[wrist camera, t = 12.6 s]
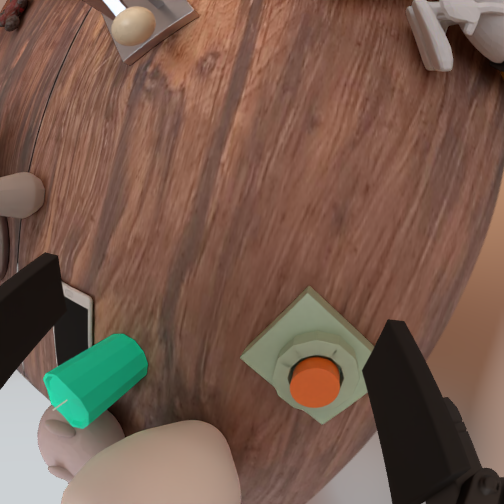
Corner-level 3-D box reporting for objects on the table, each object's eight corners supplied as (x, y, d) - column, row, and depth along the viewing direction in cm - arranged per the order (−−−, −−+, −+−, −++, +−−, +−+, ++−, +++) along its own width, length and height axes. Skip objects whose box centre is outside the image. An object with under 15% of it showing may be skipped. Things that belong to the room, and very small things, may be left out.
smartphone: (90, 298, 28) (93, 398, 31) (94, 296, 29) (96, 395, 32) (50, 276, 30) (57, 372, 33) (54, 275, 31) (59, 370, 34)
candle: (114, 322, 29) (32, 366, 18) (155, 357, 28) (81, 419, 17) (101, 356, 31) (31, 401, 19) (138, 389, 30) (74, 447, 18)
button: (282, 376, 21) (279, 388, 20) (316, 347, 20) (315, 358, 19) (315, 402, 21) (313, 415, 19) (349, 376, 20) (350, 388, 18)
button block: (246, 346, 26) (233, 368, 22) (309, 284, 24) (305, 299, 20) (323, 410, 25) (321, 437, 21) (388, 359, 23) (396, 383, 19)
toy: (6, 437, 16) (47, 496, 20) (111, 470, 19) (128, 517, 23) (46, 359, 30) (66, 427, 34) (128, 377, 33) (134, 442, 37)
